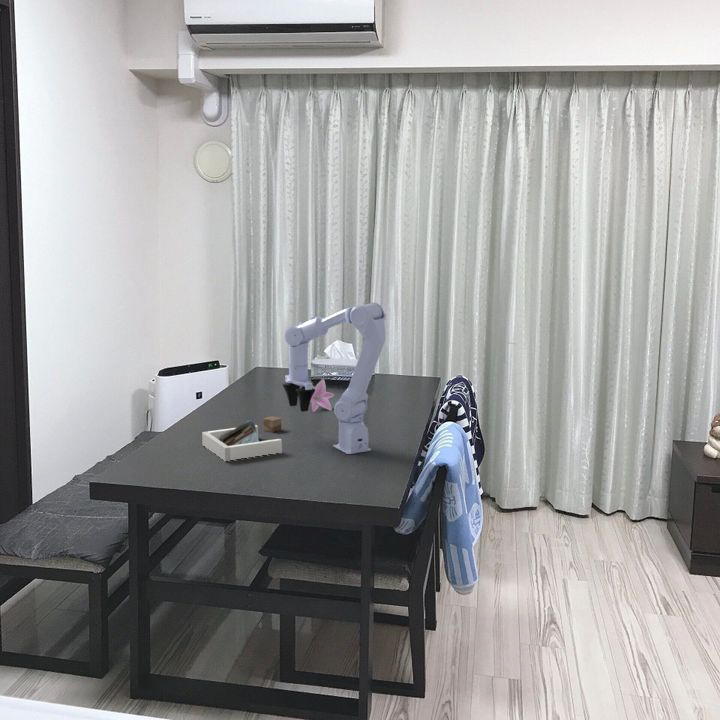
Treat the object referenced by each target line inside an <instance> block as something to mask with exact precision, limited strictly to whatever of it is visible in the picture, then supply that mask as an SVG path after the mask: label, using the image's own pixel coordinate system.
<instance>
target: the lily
mask: <svg viewBox="0 0 720 720" xmlns="http://www.w3.org/2000/svg"><path fill="white" fill-rule="evenodd" d="M326 387H327V386H326V382H325V379H324V378H322V379H321V380H320V381H318V383H317V384H316V385H315V386H314V385H312V388H314V389H315V392H314V394H313V395H312V398H311V400H310V403H311V411H312V413H313V412H316V411H317V409H318V408H319V407H320V406H321V408H324V409H326V410H328V411H331V412H332V410H333V408H332V405H331V402H330V400H329V399H330V398H332V397H334V396H335V394H334V393H332V392H329V391H327V390H326V389H327V388H326Z"/></svg>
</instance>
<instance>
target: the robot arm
mask: <svg viewBox="0 0 720 720" xmlns="http://www.w3.org/2000/svg"><path fill="white" fill-rule="evenodd" d="M386 318H387V314H386V313H385V310H384V308H383V307H382V306H381V304H379V303H377V302H369V303H367V304H366V303H365V304H362V305H361V304H360V305H355V306H352V307H348V308H347V307H346V308H345V309H342V310H340V311H338V312H336V313H333V314H332V315H329V316H327V317H322V316H317V315H314V316H311V317H310V320H307V321H305V322H304V321H301V322H299V323H298V325H296V326H290V327H289V328H287V329H286V330H285V333H284V339H285V342H286V344H288V374H286V375H284V378H285V379H284V382H285V383H282V388H283V389H284V391H285V394H286V396H287V400H288V401H287V402H288V405H289V407H296V406H297V405H298V401H299V408H300V409H299V410H300V412H302V413H303V412H308V411H309V407H310V403H311V402H310V400H311V398H312V395H313V394H314V392H315V389H314V388H312V386H313V383H312V382H311V380H310V379H309V373H308V372H309V368H308V365H309V362H308V361H309V359H308V349H309V344H310V341H312V340H315V339H318V338H320V337H323V336H326V334H328V331H329V329H331V328H333V327H335V326H336V327H337V326H340V325H341V324H344V323H347V324H349V325H351V324H352V325H353V327H354V328H355V329H356V330H357V331H358V332H359V333H360V335H362V336H363V338H364V343H363V346H362V349H361V352H360V353H359V357H358V359H357V362H356V365H355V368H354V371H353V372H352V373H353V374H352V376H351V379H350V381H349V383H348V384H349V385H348V387H347V388H346V390H345V391H343V393H342V394H341V396H340V398H339V400H338V401H337V402H336V403H335V404H334V407H333V411H334V414H335V417H336V418H337V421H338V443H337V444H333V445H332V447H333V448H335V449H337V450H339V451H341V452H343V453H344V454H346V455H352V454H358V453H364V452H371V451H372V448H370V447H369V429H368V427H367V426H366V424H365V423H364V414H365V413H366V412H367V409H368V399H369V394H368V393H367V389H368V387H369V385H370V382H371V380H372V377H373V374H374V371H375V368H376V366H377V363H378V360H379V357H380V354H381V352H382V350H383V347H384V344H385V341H386V339H387V338H386V328H385V327H386V326H385V325H386V324H385V322H386Z"/></svg>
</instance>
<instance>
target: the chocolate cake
mask: <svg viewBox="0 0 720 720" xmlns="http://www.w3.org/2000/svg"><path fill="white" fill-rule="evenodd" d="M255 425H256V424H255V423H254V419H253V418H250V419H249V420H247V421H245V422H244V423H241V424H240V425H238V426H237V427H234V428H235V429H234V430H232V431H230V432H229V433H227V434H224V435H223V436H221V437H220V439H219V440H220V441H221V442H223V443H224V444H226V445H227V446H233V445H240V444H247V443H253V442H260V440H259V434H258V435H257V433H256V427H255Z"/></svg>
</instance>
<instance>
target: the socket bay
mask: <svg viewBox="0 0 720 720" xmlns="http://www.w3.org/2000/svg"><path fill="white" fill-rule="evenodd" d="M255 427H256V433H257V435H258V436H259V426H258V425H257V424H255ZM235 428H236V427H231V428H226V429H225V428H224V429H223V428H222V429H216V430H208V431H202V432H201V435H202V436H201V438H202V439H201V441H202V443H201V445H202V446H203V447H204V446H205V448H206V450H208V449H209V450H208V451H210V452H211V453H212V454H214V453H215V454H216V455H215V454H214V455H215V456H217V457H218V456H219V457H220V458H219V457H218V458H219V459H221V460H222V459H223V460H224V461H223V460H222V461H223V462H225V461H228V462H231V461H230V460H234V461H236V460H235V459H241V458H247V459H249V458H248V457H254V458H256V457H255V456H260V457H263V456H262V455H267V456H269V455H268V454H273V455H277V454H276V453H279V454H283V441H282V439H281V438H276V439H275V438H274V439H267V440H261V441H260V440H259V442H253V443H247V444H240V445H233V446H227V445H226V444H224V443H223V442H221V441H220V440H219V439H220V437H221V436H223V435H224V434H227V433H229V432H230V431H232V430H234V429H235ZM241 460H242V459H241Z"/></svg>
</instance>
